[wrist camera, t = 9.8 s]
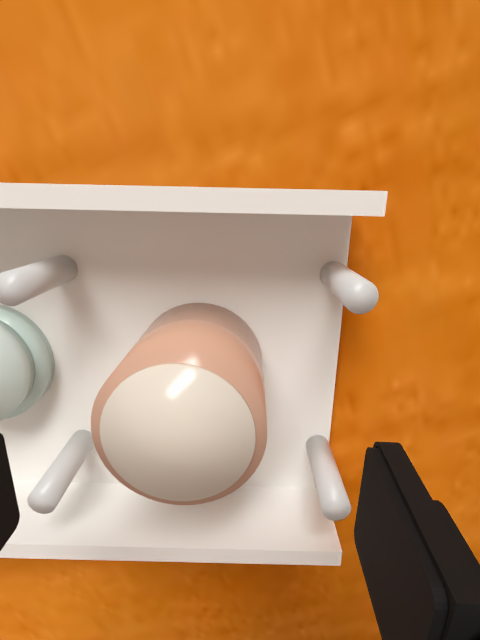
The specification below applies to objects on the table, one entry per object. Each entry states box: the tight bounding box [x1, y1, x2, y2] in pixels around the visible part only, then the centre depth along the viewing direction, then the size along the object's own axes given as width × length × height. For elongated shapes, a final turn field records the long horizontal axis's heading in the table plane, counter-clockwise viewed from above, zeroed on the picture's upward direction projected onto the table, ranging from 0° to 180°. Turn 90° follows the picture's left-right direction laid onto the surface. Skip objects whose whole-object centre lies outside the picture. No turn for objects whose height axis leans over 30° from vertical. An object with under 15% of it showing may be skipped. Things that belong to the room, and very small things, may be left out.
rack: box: [0, 183, 388, 566], centre depth 17 cm, size 21×16×6 cm
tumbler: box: [91, 303, 267, 505], centre depth 16 cm, size 6×6×6 cm
